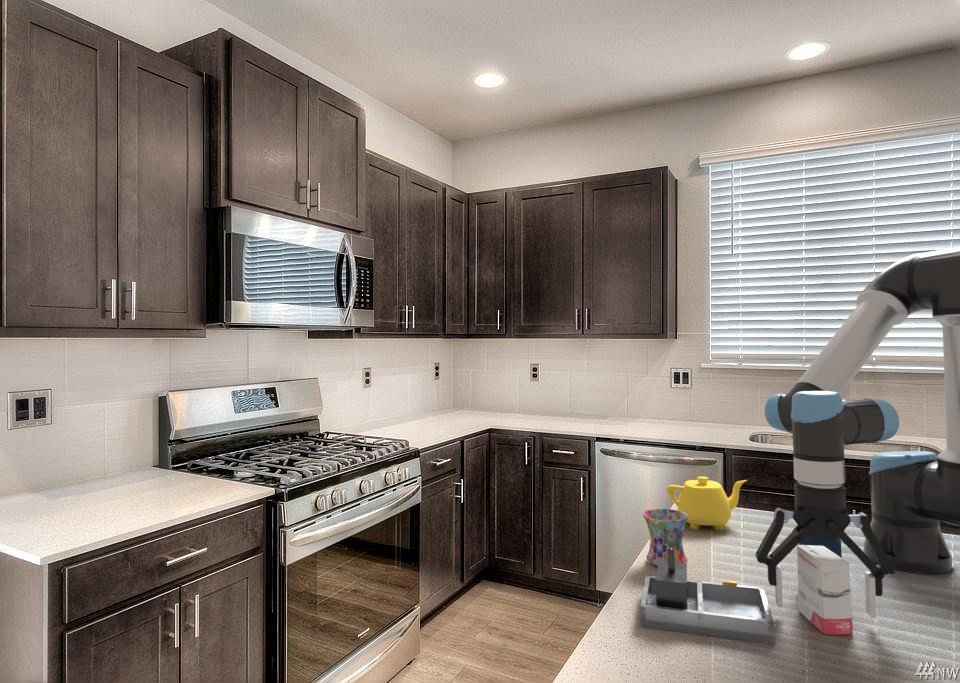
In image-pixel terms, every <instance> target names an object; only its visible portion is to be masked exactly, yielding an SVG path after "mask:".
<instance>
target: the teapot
mask: <svg viewBox="0 0 960 683" xmlns="http://www.w3.org/2000/svg"><path fill="white" fill-rule="evenodd" d="M747 481H748V480H747V479H744V480H738V481H736V482H735V483H734V484H733V487H732V493H731V494H730V496H729V497H728V496H727V494H726V492H725V490H724V487H723V486H722V484H721V483H719V482H718V481H714V480H709V477H708V476H697V478H696V479H689V480H686V481H684V484H683V485H678V484H669V485H667V486H666V494H667V495H668V497H669V499H671V501H672V502H673V504H675V505H676V507H677V510H678V511H681V512H684V513H686V514H687V516H688V519H687V521H686V523H688V524H690V525H689V529H691V530H699V529H700V526H713V529H714V530H715V531H724V530H725V528H724V526H725V525H727V524H728V523H729V521H730V519H731V517H732V511H733V510H734V509H735V508H736V507H737V506H738V503H739V499H740V498H739V497H740V489H741V487H742V485H743V484H744V483H745V482H747ZM675 490H681V491H680V492H679V496H678V499H677V496H676V494H675Z"/></svg>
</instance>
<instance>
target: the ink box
mask: <svg viewBox="0 0 960 683" xmlns="http://www.w3.org/2000/svg"><path fill="white" fill-rule="evenodd" d="M796 560H797V561H796V562H797V564H796V565H797V590H798V592H797V593H798V612H799V613H801V614H802V615H803V617H805V619H807V620H808V621H809V622H810V623H811V624H812V625H814V627H816V628H817V629H818V631H820V632H821V633H822V634H823V635H827V636H828V635H830V636H831V635H832V636H833V635H835V636H836V635H837V636H839V635H840V636H841V635H853V632H854V631H853V618H852V616H853V615H852V599H851V598H852V596H851V582H850V581H851V579H850V563H849V561H847V560H845V559H844V558H843V557H842V558H841V557H839V556H838V555H836V554H835V553H833V552H832V551H830V550H829V549H827V548H826V547H824V546H814V545H799V544H798V545H797V546H796Z"/></svg>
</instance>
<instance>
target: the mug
mask: <svg viewBox="0 0 960 683" xmlns="http://www.w3.org/2000/svg"><path fill="white" fill-rule="evenodd" d="M642 516H643V518H644V520H645V522H646V525H647V529H648V532H649V548H648V552H647V555H646V561H647V562H648V563H650V564H652V565H653V566H656V567H658V561H660V562H668V554H667V550H668V549H669V548H673V549H674V553H675V563H682V564H687V563H688V558H687V556H686V554H685V551H684V545H683V534H684V529H685V526H686V524H687V522H686V521H687V519H688V516H687V514H686V513H684V512H681V511H678V509H672V508H652V509H647V510H645V511H644V512H643V514H642Z"/></svg>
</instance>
